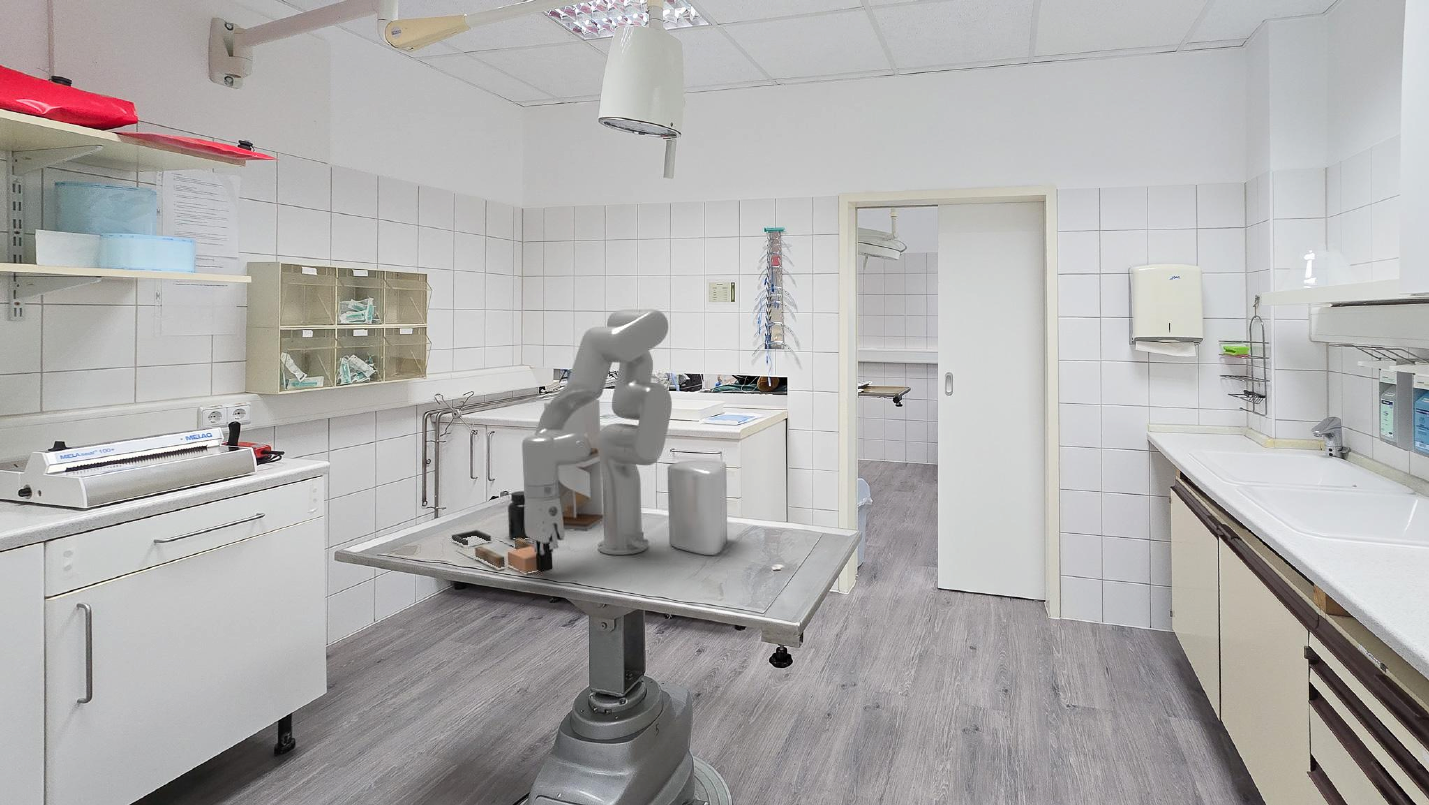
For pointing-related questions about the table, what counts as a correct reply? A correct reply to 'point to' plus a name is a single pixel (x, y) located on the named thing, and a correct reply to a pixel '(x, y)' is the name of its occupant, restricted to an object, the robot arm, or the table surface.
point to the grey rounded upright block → (697, 506)
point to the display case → (582, 474)
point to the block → (523, 559)
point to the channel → (496, 558)
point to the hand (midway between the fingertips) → (544, 569)
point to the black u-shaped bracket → (468, 534)
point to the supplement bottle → (517, 516)
